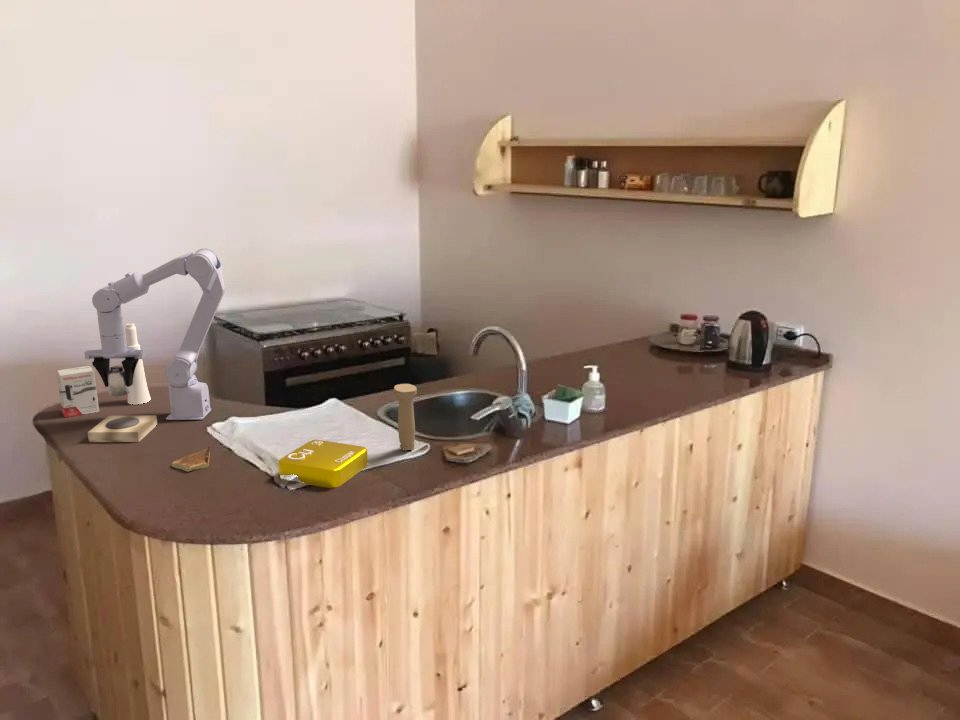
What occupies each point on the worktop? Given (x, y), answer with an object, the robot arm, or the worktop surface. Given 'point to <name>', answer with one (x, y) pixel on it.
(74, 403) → the ink box
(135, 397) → the cosmetic bottle
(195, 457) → the shard
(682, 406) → the worktop surface
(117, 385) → the cylinder
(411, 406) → the handle
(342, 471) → the element tile
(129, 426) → the stand
